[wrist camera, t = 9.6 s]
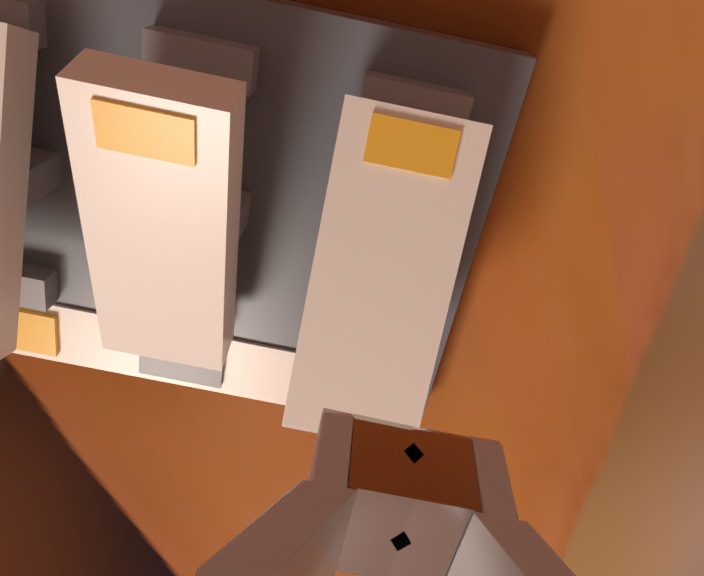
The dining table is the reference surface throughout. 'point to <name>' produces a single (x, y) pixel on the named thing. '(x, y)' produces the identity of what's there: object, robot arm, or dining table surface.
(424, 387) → the block
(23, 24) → the switch unit
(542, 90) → the dining table surface
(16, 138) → the block
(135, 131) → the rocker
